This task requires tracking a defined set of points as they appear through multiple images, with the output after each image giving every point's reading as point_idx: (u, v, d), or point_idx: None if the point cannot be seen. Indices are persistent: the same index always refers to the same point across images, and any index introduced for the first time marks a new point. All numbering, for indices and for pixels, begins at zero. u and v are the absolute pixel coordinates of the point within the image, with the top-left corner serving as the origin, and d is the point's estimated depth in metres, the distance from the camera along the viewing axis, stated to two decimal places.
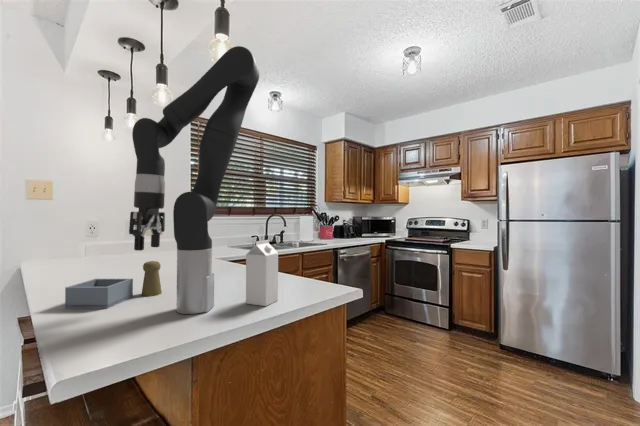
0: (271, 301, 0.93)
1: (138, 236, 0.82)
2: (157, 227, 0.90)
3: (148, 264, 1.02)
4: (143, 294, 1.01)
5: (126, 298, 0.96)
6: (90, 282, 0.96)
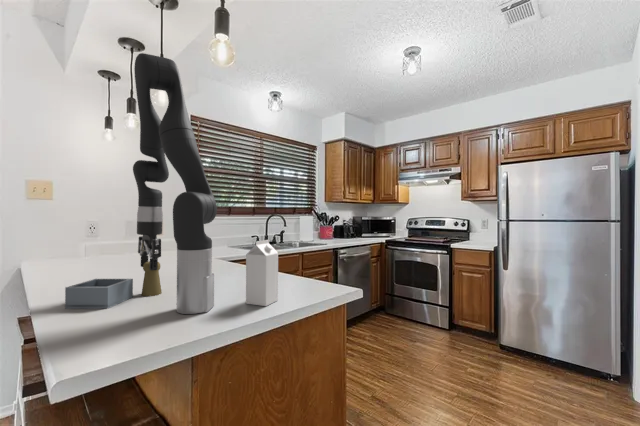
0: (271, 301, 0.93)
1: (156, 258, 1.00)
2: None
3: (148, 264, 1.02)
4: (143, 294, 1.01)
5: (126, 298, 0.96)
6: (90, 282, 0.96)
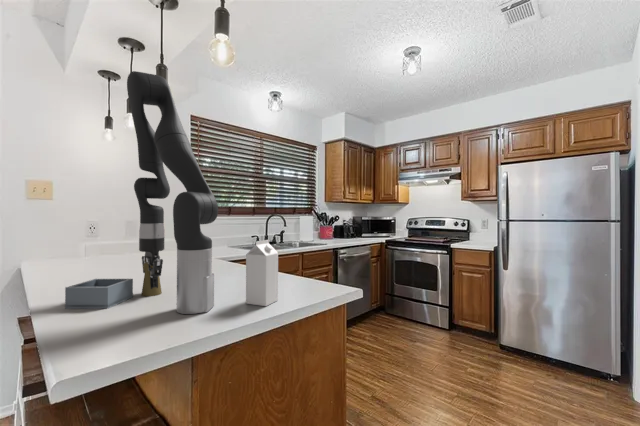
0: (271, 301, 0.93)
1: (156, 277, 1.02)
2: None
3: None
4: (143, 294, 1.01)
5: (126, 298, 0.96)
6: (90, 282, 0.96)
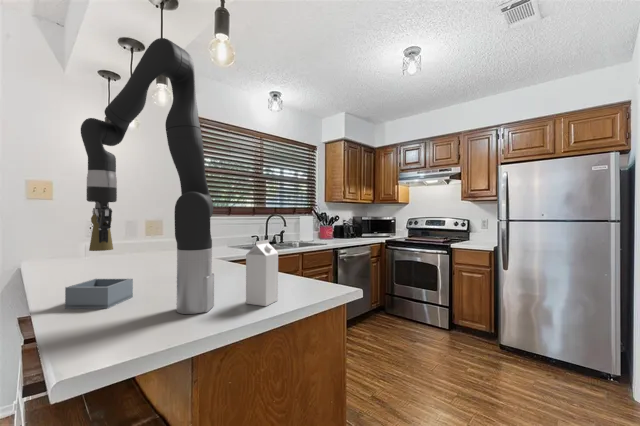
0: (271, 301, 0.93)
1: (105, 230, 0.91)
2: None
3: None
4: (90, 249, 0.91)
5: (126, 298, 0.96)
6: (90, 282, 0.96)
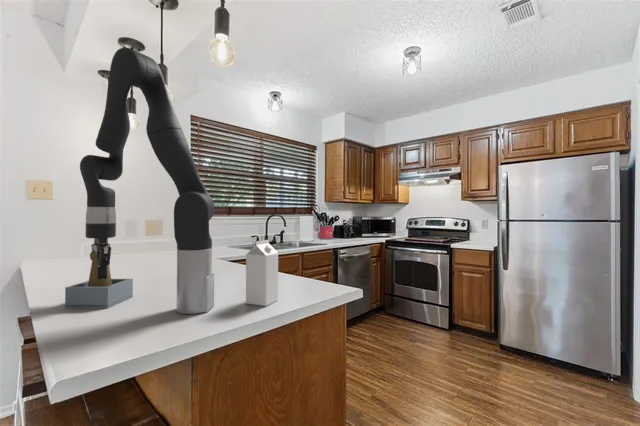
0: (271, 301, 0.93)
1: (104, 267, 0.91)
2: None
3: None
4: (89, 285, 0.91)
5: (126, 298, 0.96)
6: None
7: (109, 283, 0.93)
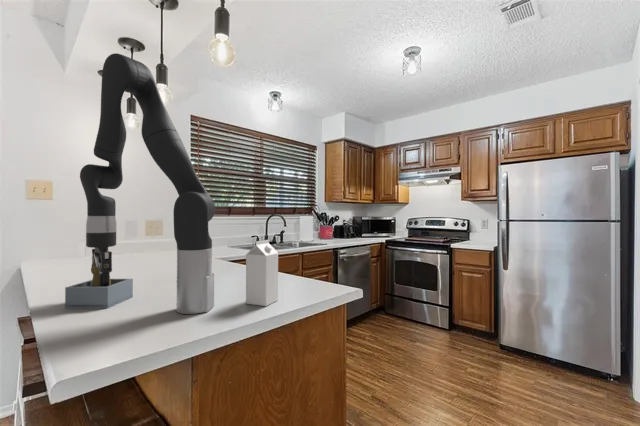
0: (271, 301, 0.93)
1: (107, 273, 0.90)
2: None
3: (96, 266, 0.92)
4: None
5: (126, 298, 0.96)
6: (90, 282, 0.96)
7: None
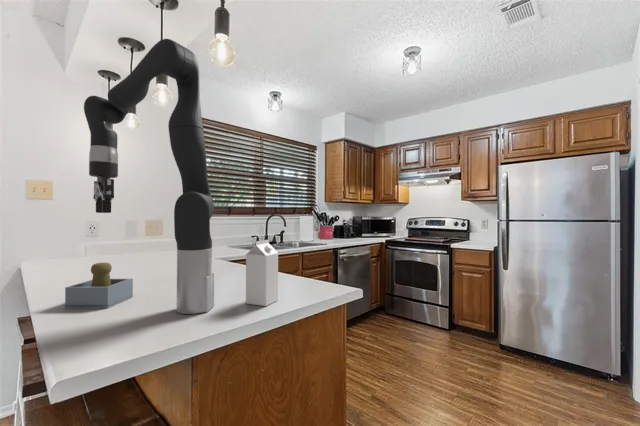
0: (271, 301, 0.93)
1: (109, 200, 0.94)
2: None
3: (96, 266, 0.92)
4: None
5: (126, 298, 0.96)
6: (90, 282, 0.96)
7: None
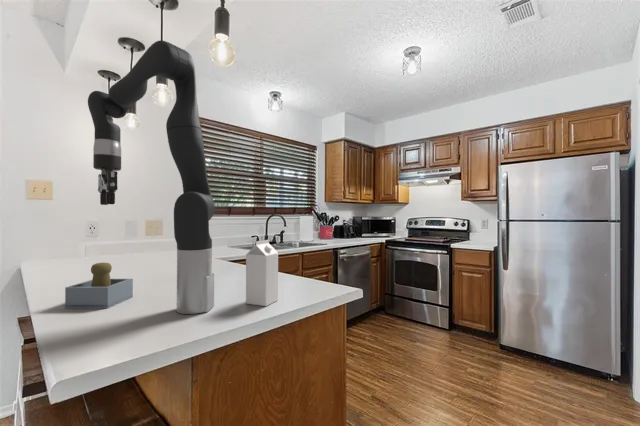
0: (271, 301, 0.93)
1: (112, 192, 0.97)
2: None
3: (96, 266, 0.92)
4: None
5: (126, 298, 0.96)
6: (90, 282, 0.96)
7: None
